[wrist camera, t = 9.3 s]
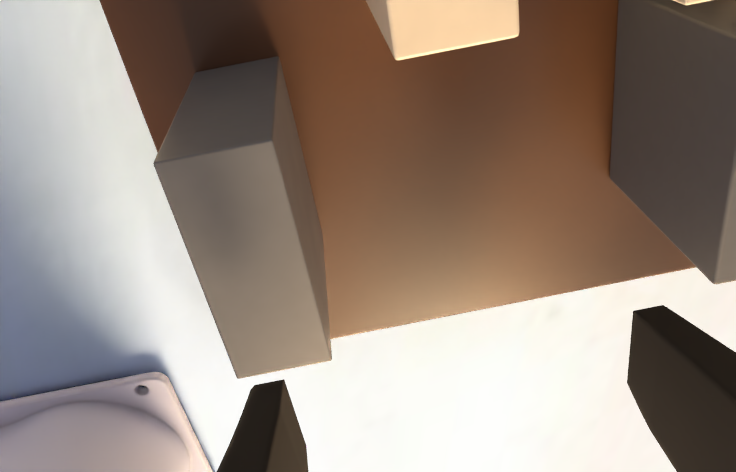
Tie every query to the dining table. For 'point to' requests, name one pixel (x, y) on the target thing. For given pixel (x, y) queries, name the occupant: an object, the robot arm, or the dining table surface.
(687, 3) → the cream block
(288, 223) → the grey block pair
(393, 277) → the shelf board
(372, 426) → the dining table surface
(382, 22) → the tan wooden block
